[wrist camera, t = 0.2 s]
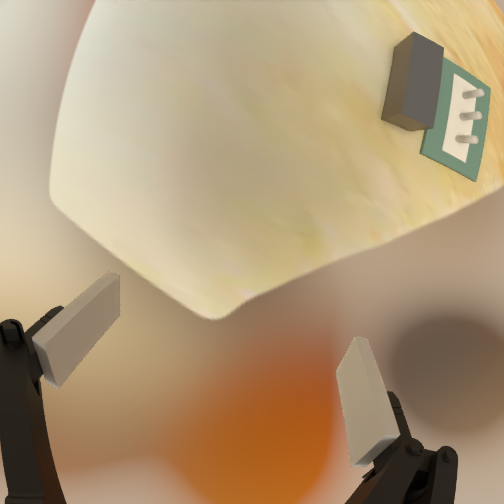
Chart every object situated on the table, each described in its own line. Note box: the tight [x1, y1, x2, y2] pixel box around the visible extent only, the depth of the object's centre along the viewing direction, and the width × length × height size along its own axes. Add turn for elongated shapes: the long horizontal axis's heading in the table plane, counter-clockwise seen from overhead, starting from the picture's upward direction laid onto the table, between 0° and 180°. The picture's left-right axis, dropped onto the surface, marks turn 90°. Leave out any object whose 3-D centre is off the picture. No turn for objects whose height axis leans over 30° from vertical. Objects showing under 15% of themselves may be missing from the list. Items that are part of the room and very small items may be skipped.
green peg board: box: [420, 57, 490, 182], centre depth 29 cm, size 18×12×6 cm, turn 167°
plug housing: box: [381, 32, 444, 131], centre depth 28 cm, size 13×5×7 cm, turn 167°
